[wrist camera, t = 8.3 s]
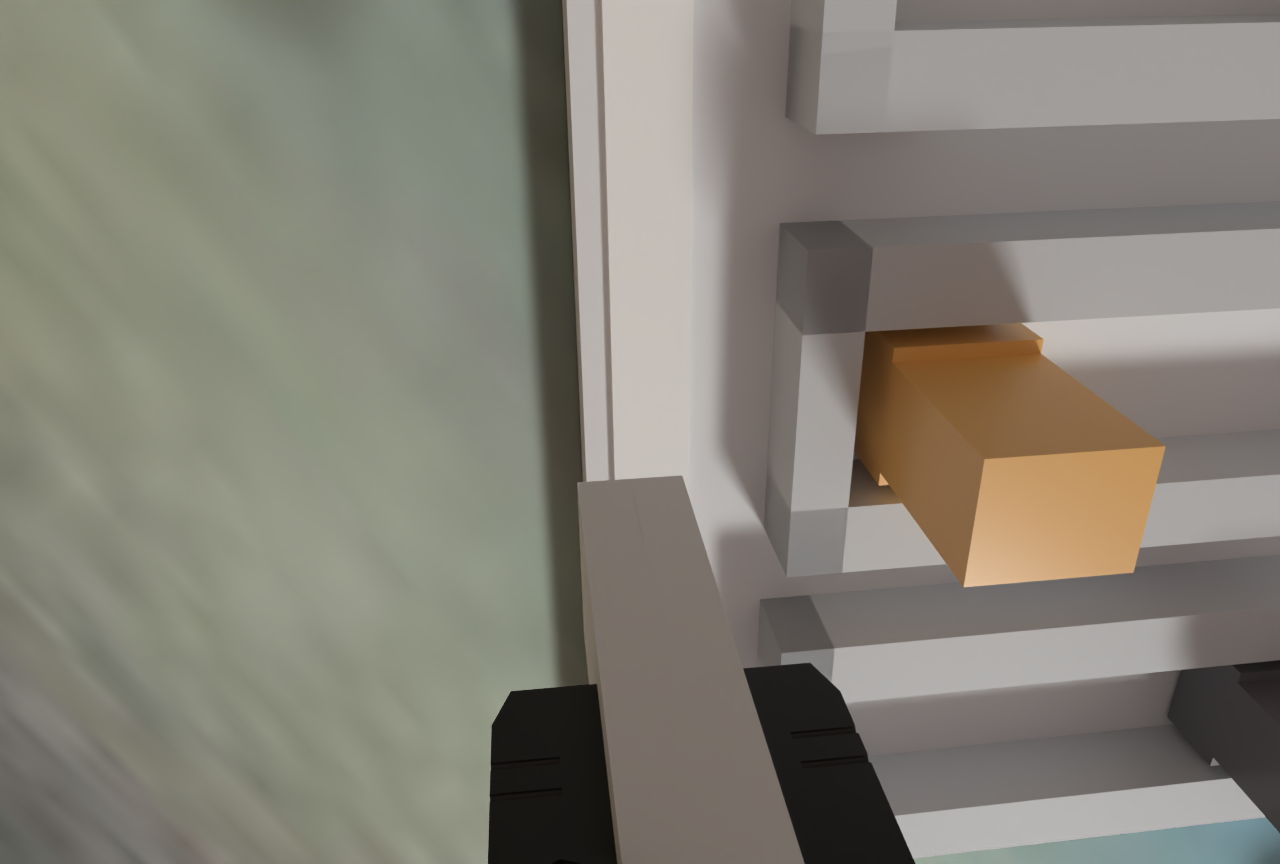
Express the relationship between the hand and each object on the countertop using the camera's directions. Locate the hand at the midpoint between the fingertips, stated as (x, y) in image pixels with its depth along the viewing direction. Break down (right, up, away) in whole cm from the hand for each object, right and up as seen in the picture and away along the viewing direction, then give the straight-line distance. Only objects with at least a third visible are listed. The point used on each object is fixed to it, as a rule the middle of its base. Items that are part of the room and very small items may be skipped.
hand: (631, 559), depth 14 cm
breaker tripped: (+6, +3, +7) cm, 10 cm away
